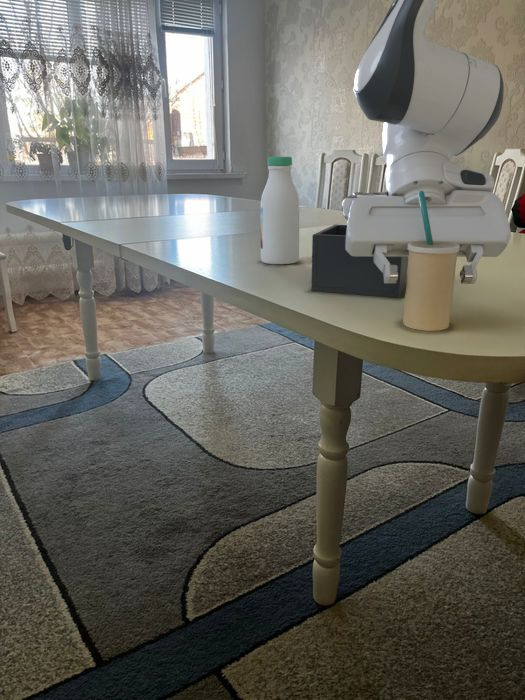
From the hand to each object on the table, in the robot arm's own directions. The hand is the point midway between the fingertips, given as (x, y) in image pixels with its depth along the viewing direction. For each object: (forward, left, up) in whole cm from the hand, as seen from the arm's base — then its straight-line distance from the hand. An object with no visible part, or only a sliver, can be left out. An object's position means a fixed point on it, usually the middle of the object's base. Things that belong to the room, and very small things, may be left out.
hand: (430, 281), depth 66 cm
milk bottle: (+32, -34, -6) cm, 47 cm away
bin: (+12, -19, -6) cm, 24 cm away
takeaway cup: (0, 0, -6) cm, 6 cm away
